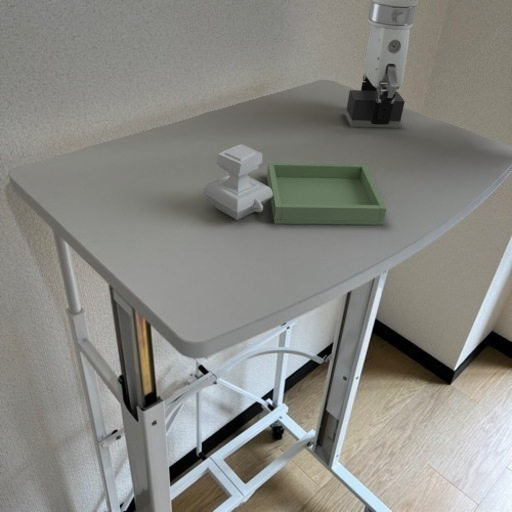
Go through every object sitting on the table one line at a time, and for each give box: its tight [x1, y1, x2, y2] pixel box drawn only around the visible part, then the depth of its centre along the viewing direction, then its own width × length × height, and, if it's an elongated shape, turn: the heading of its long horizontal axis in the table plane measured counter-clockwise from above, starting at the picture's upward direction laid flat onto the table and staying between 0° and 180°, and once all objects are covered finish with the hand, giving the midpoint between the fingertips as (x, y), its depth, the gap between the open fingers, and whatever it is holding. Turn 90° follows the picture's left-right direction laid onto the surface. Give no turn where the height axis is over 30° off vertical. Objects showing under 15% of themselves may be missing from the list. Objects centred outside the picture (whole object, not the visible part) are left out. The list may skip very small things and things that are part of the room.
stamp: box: [202, 143, 273, 221], centre depth 72 cm, size 9×7×8 cm
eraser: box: [345, 89, 406, 129], centre depth 101 cm, size 9×5×5 cm, turn 93°
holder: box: [266, 162, 387, 226], centre depth 77 cm, size 15×13×3 cm
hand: (373, 113), depth 101 cm, fingers open, 9 cm apart
